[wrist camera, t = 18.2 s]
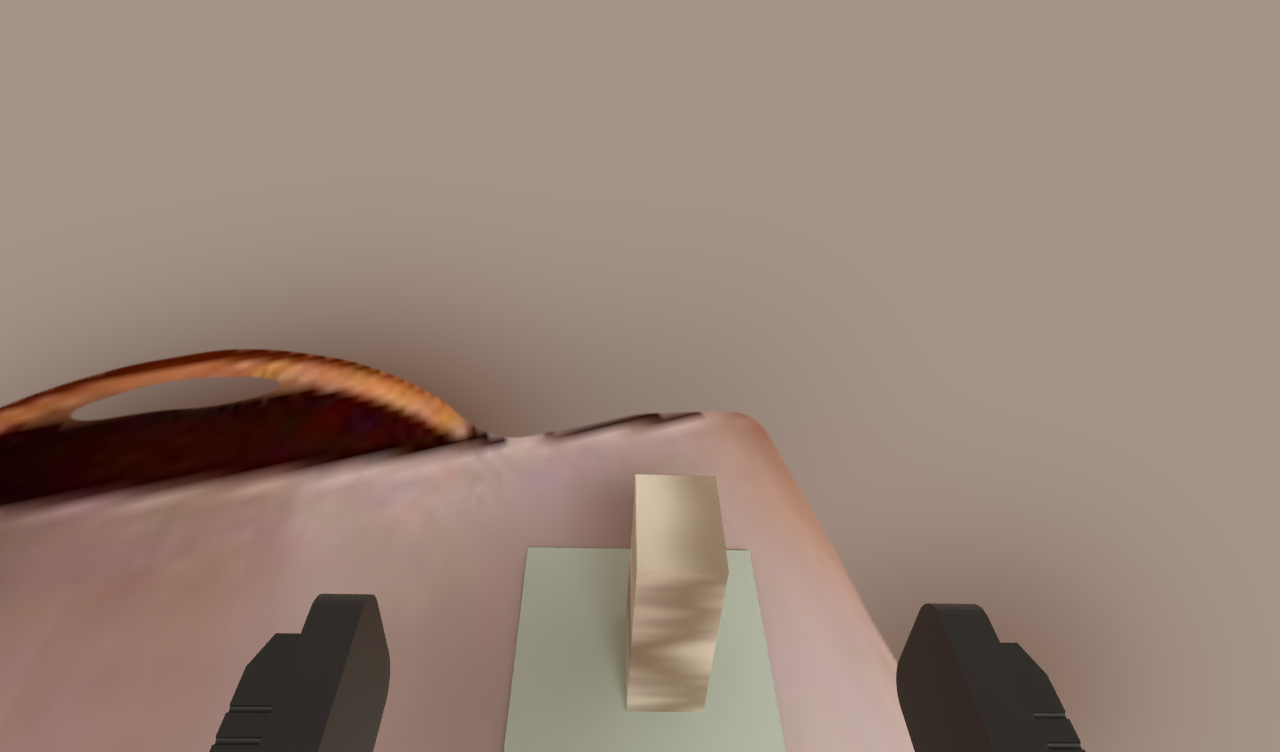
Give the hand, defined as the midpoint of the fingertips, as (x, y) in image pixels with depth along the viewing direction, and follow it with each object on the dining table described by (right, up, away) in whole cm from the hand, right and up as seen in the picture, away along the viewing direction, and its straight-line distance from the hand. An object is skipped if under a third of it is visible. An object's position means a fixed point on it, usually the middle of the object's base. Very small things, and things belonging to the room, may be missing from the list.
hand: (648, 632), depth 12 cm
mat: (0, -12, +32) cm, 34 cm away
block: (+1, -12, +31) cm, 33 cm away
